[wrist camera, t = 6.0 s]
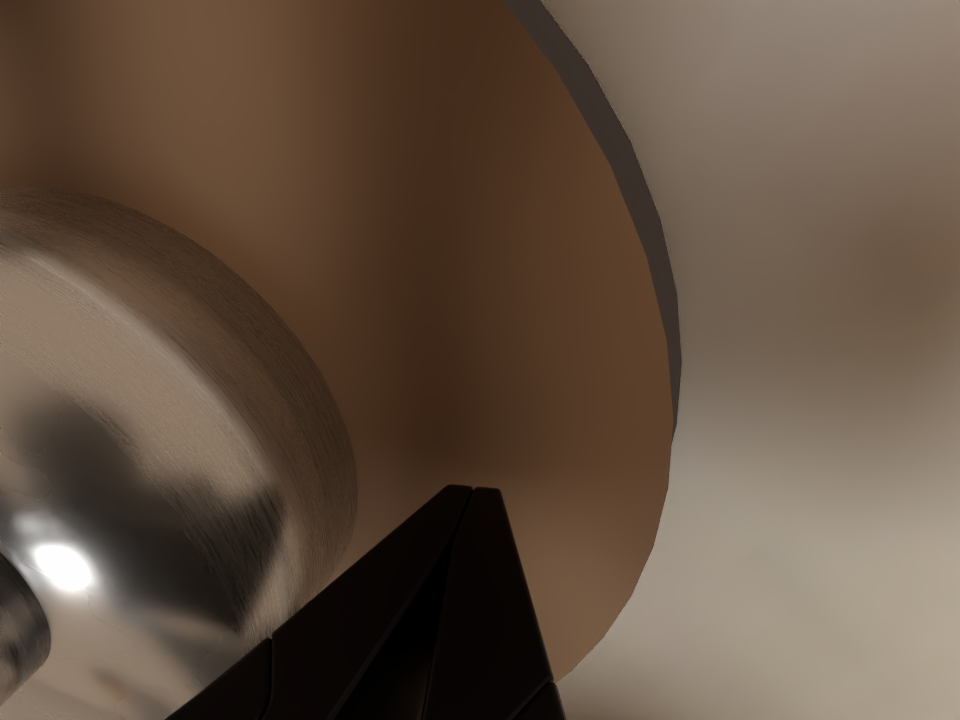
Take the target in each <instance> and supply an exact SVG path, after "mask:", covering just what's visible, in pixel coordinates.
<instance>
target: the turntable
mask: <svg viewBox="0 0 960 720" xmlns="http://www.w3.org/2000/svg"><path fill="white" fill-rule="evenodd" d="M19 187H42V188H58V189H66V190H71V191H75V192H80V193H85V194H89V195H94V196H99V197H102V198H105V199H107V200H110V201H113V202H116V203H119V204H121V205H124V206H127V207H130V208H133V209H135V210H138V211H140V212H142V213H144V214H146V215H148V216H150V217H152V218H154V219H156V220H158V221H160V222H162V223H164V224H166V225H168V226H170V227H172V228H174V229H175V230H177V231H178V232H180V233H182V234H183V235H185V236H186V237H188V238H189V239H191V240H192V241H194V242H196V243H197V244H199V245H200V246H202V247H203V248H205V249H206V250H208V251H210V252H211V253H212V254H213V255H215V256H216V257H217V258H218V259H219V260H221V261H222V262H223V263H224V264H226V265H227V266H228V267H229V268H231V269H232V270H233V271H234V272H236V273H237V274H238V275H239V276H241V277H242V278H243V279H244V280H245V281H246V282H247V283H248V284H249V285H250V286H251V287H252V288H253V289H254V290H255V291H256V292H257V293H258V294H259V295H260V296H261V297H262V298H263V299H264V300H265V301H266V302H267V303H269V304H270V305H271V306H272V307H273V309H274V310H275V311H276V312H277V313H278V315H279V316H280V317H281V318H282V319H283V321H284V322H285V323H286V324H287V325H288V327H289V328H290V329H291V330H292V332H293V333H294V334H295V335H296V336H297V338H298V339H299V340H300V342H301V343H302V345H303V346H304V348H305V349H306V351H307V352H308V354H309V355H310V357H311V358H312V360H313V361H314V363H315V364H316V366H317V367H318V369H319V370H320V372H321V374H322V376H323V378H324V380H325V382H326V383H327V385H328V387H329V389H330V391H331V393H332V395H333V397H334V399H335V401H336V403H337V405H338V408H339V411H340V413H341V416H342V419H343V421H344V424H345V427H346V429H347V432H348V435H349V439H350V443H351V447H352V451H353V456H354V460H355V464H356V475H357V486H358V500H357V514H356V521H355V525H354V529H353V533H352V537H351V541H350V543H349V545H348V547H347V550H346V552H345V554H344V556H343V558H342V560H341V562H340V564H339V566H338V568H337V569H336V571H335V573H334V575H333V576H332V578H331V580H330V582H329V583H328V585H329V584H330V583H331V582H333V581H334V580H335V579H336V578H337V577H339V576H340V575H341V574H342V573H343V572H345V571H346V570H347V569H348V568H349V567H350V566H352V565H353V564H354V563H355V562H356V561H358V560H359V559H360V558H361V557H362V556H363V555H365V554H366V553H367V552H368V551H369V550H371V549H372V548H373V547H374V546H375V545H376V544H378V543H379V542H380V541H381V540H382V539H384V538H385V537H386V536H387V535H388V534H389V533H391V532H392V531H393V530H394V529H395V528H397V527H398V526H399V525H400V524H401V523H402V522H404V521H405V520H406V519H407V518H408V517H410V516H411V515H412V514H413V513H414V512H415V511H417V510H418V509H419V508H420V507H421V506H423V505H424V504H425V503H426V502H427V501H429V500H430V499H431V498H432V497H433V496H434V495H436V494H437V493H438V492H439V491H440V490H442V489H443V488H444V487H445V486H447V485H449V484H457V485H468V486H471V487H473V489H474V488H476V487H490V488H498V489H500V491H501V493H502V496H503V500H504V503H505V507H506V510H507V514H508V517H509V521H510V524H511V528H512V531H513V535H514V538H515V542H516V546H517V549H518V553H519V556H520V560H521V563H522V567H523V570H524V574H525V577H526V581H527V584H528V588H529V591H530V595H531V598H532V602H533V605H534V609H535V612H536V616H537V619H538V623H539V626H540V630H541V633H542V637H543V640H544V644H545V648H546V651H547V655H548V658H549V662H550V665H551V669H552V672H553V676H554V683H556V682H557V681H558V680H560V679H561V678H562V677H564V676H565V675H566V674H568V673H569V672H570V671H572V670H573V668H574V667H575V666H576V665H577V664H578V663H579V662H580V661H581V660H582V659H583V658H584V657H585V656H586V655H587V654H588V653H589V652H590V651H591V650H592V649H593V648H594V647H595V646H596V645H597V643H598V642H599V641H600V640H601V639H602V638H603V637H604V636H605V634H606V633H607V631H608V630H609V628H610V627H611V625H612V624H613V622H614V621H615V619H616V618H617V616H618V615H619V613H620V612H621V610H622V609H623V607H624V606H625V604H626V603H627V602H628V600H629V599H630V597H631V595H632V593H633V591H634V589H635V586H636V584H637V582H638V580H639V577H640V575H641V573H642V571H643V568H644V566H645V564H646V562H647V559H648V557H649V555H650V553H651V550H652V548H653V546H654V542H655V538H656V534H657V530H658V526H659V522H660V518H661V514H662V510H663V506H664V502H665V498H666V494H667V490H668V482H669V469H670V456H671V443H672V430H673V409H672V397H671V385H670V373H669V361H668V349H667V340H666V336H665V331H664V327H663V323H662V319H661V315H660V311H659V306H658V302H657V298H656V294H655V290H654V285H653V281H652V277H651V273H650V269H649V265H648V260H647V256H646V254H645V251H644V249H643V246H642V244H641V241H640V239H639V236H638V234H637V231H636V229H635V226H634V224H633V221H632V218H631V216H630V213H629V211H628V208H627V206H626V203H625V201H624V198H623V196H622V193H621V191H620V188H619V186H618V183H617V181H616V178H615V176H614V173H613V171H612V168H611V166H610V164H609V162H608V160H607V158H606V157H605V155H604V153H603V151H602V150H601V148H600V146H599V144H598V143H597V141H596V139H595V137H594V136H593V134H592V132H591V130H590V129H589V127H588V125H587V123H586V121H585V120H584V118H583V116H582V114H581V113H580V111H579V109H578V107H577V106H576V104H575V102H574V100H573V99H572V97H571V95H570V93H569V92H568V90H567V88H566V86H565V85H564V83H563V81H562V79H561V78H560V76H559V74H558V72H557V70H556V69H555V68H554V67H553V65H552V64H551V63H550V61H549V60H548V59H547V57H546V56H545V55H544V54H543V52H542V51H541V50H540V48H539V47H538V46H537V44H536V43H535V42H534V40H533V39H532V38H531V37H530V35H529V34H528V33H527V31H526V30H525V29H524V27H523V26H522V25H521V23H520V22H519V21H518V20H517V18H516V17H515V16H514V14H513V13H512V12H511V10H510V9H509V8H508V6H507V5H506V4H505V3H504V1H503V0H0V189H7V188H19ZM328 585H327V586H328Z"/></svg>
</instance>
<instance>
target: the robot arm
mask: <svg viewBox="0 0 960 720" xmlns="http://www.w3.org/2000/svg"><path fill="white" fill-rule="evenodd" d="M164 720H566V717H565V713H564V710H563V706H562V703H561V699H560V696H559V692H558V689H557V685H556V684H555V683H554V676H553V672H552V669H551V665H550V662H549V658H548V655H547V651H546V648H545V644H544V640H543V637H542V633H541V630H540V626H539V623H538V619H537V616H536V612H535V609H534V605H533V602H532V598H531V595H530V591H529V588H528V584H527V581H526V577H525V574H524V570H523V567H522V563H521V560H520V556H519V553H518V549H517V546H516V542H515V538H514V535H513V531H512V528H511V524H510V521H509V517H508V514H507V510H506V507H505V503H504V500H503V496H502V493H501V491H500V489H498V488H490V487H476V488H474V489H473V487H471V486H468V485H457V484H449V485H447V486H445V487H444V488H443V489H442V490H440V491H439V492H438V493H437V494H436V495H434V496H433V497H432V498H431V499H430V500H429V501H427V502H426V503H425V504H424V505H423V506H421V507H420V508H419V509H418V510H417V511H415V512H414V513H413V514H412V515H411V516H410V517H408V518H407V519H406V520H405V521H404V522H402V523H401V524H400V525H399V526H398V527H397V528H395V529H394V530H393V531H392V532H391V533H389V534H388V535H387V536H386V537H385V538H384V539H382V540H381V541H380V542H379V543H378V544H376V545H375V546H374V547H373V548H372V549H371V550H369V551H368V552H367V553H366V554H365V555H363V556H362V557H361V558H360V559H359V560H358V561H356V562H355V563H354V564H353V565H352V566H350V567H349V568H348V569H347V570H346V571H345V572H343V573H342V574H341V575H340V576H339V577H337V578H336V579H335V580H334V581H333V582H331V583H330V584H329V585H328V586H327V587H326V588H324V589H323V590H322V591H321V592H320V593H318V594H317V595H316V596H315V597H314V598H313V599H311V600H310V601H309V602H308V603H307V604H305V605H304V606H303V607H302V608H301V609H300V610H298V611H297V612H296V613H295V614H294V615H292V616H291V617H290V618H289V619H288V620H287V621H285V622H284V623H283V624H282V625H281V626H279V627H278V628H277V629H276V630H275V631H274V632H273V633H272V635H271V639H270V638H268V637H267V638H265V639H264V640H263V641H261V642H260V643H259V644H258V645H257V646H255V647H254V648H253V649H252V650H251V651H250V652H248V653H247V654H246V655H245V656H244V657H242V658H241V659H240V660H239V661H238V662H236V663H235V664H234V665H233V666H231V667H230V668H229V669H228V670H226V671H225V672H224V673H223V674H222V675H220V676H219V677H218V678H217V679H215V680H214V681H213V682H212V683H210V684H209V685H208V686H207V687H206V688H204V689H203V690H202V691H201V692H199V693H198V694H197V695H196V696H194V697H193V698H192V699H190V700H189V701H188V702H186V703H185V704H184V705H182V706H181V707H180V708H178V709H177V710H176V711H174V712H173V713H172V714H170V715H169V716H168V717H166V718H165V719H164Z"/></svg>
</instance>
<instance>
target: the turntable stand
mask: <svg viewBox="0 0 960 720" xmlns="http://www.w3.org/2000/svg"><path fill="white" fill-rule="evenodd" d="M503 1H504V3H505V4H506V5H507V6H508V8H509V9H510V10H511V12H512V13H513V14H514V16H515V17H516V18H517V20H518V21H519V22H520V23H521V25H522V26H523V27H524V29H525V30H526V31H527V33H528V34H529V35H530V37H531V38H532V39H533V40H534V42H535V43H536V44H537V46H538V47H539V48H540V50H541V51H542V52H543V54H544V55H545V56H546V57H547V59H548V60H549V61H550V63H551V64H552V65H553V67H554V68H555V69H556V70H557V72H558V74H559V76H560V78H561V79H562V81H563V83H564V85H565V86H566V88H567V90H568V92H569V93H570V95H571V97H572V99H573V100H574V102H575V104H576V106H577V107H578V109H579V111H580V113H581V114H582V116H583V118H584V120H585V121H586V123H587V125H588V127H589V129H590V130H591V132H592V134H593V136H594V137H595V139H596V141H597V143H598V144H599V146H600V148H601V150H602V151H603V153H604V155H605V157H606V158H607V160H608V162H609V164H610V166H611V168H612V171H613V173H614V176H615V178H616V181H617V183H618V186H619V188H620V191H621V193H622V196H623V198H624V201H625V203H626V206H627V208H628V211H629V213H630V216H631V218H632V221H633V224H634V226H635V229H636V231H637V234H638V236H639V239H640V241H641V244H642V246H643V249H644V251H645V254H646V256H647V260H648V265H649V269H650V273H651V277H652V281H653V285H654V290H655V294H656V298H657V302H658V306H659V311H660V315H661V319H662V323H663V327H664V331H665V336H666V340H667V349H668V361H669V373H670V385H671V397H672V409H673V430H672V441H673V437H674V432H675V428H676V424H677V413H678V400H679V388H680V376H681V363H682V361H681V347H680V333H679V319H678V306H677V293H676V289H675V284H674V280H673V275H672V271H671V266H670V262H669V257H668V253H667V248H666V244H665V239H664V235H663V230H662V226H661V221H660V218H659V216H658V213H657V210H656V208H655V205H654V202H653V200H652V197H651V195H650V192H649V189H648V187H647V184H646V181H645V179H644V176H643V173H642V171H641V168H640V166H639V163H638V160H637V158H636V155H635V152H634V150H633V147H632V144H631V142H630V140H629V139H628V137H627V135H626V133H625V131H624V129H623V128H622V126H621V124H620V122H619V120H618V119H617V117H616V115H615V113H614V111H613V109H612V108H611V106H610V104H609V102H608V100H607V99H606V97H605V95H604V93H603V91H602V89H601V88H600V86H599V84H598V82H597V80H596V79H595V77H594V75H593V73H592V71H591V69H590V68H589V66H588V64H587V63H586V62H585V60H584V59H583V58H582V56H581V55H580V54H579V52H578V51H577V49H576V48H575V47H574V45H573V44H572V43H571V41H570V40H569V39H568V37H567V36H566V35H565V33H564V32H563V31H562V29H561V28H560V27H559V25H558V24H557V23H556V21H555V20H554V19H553V17H552V16H551V15H550V13H549V12H548V11H547V9H546V8H545V7H544V5H543V4H542V3H541V1H540V0H503ZM671 445H672V443H671Z"/></svg>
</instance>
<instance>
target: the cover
mask: <svg viewBox="0 0 960 720" xmlns="http://www.w3.org/2000/svg"><path fill="white" fill-rule="evenodd" d="M357 500H358V486H357V475H356V464H355V460H354V456H353V451H352V447H351V443H350V439H349V435H348V432H347V429H346V427H345V424H344V421H343V419H342V416H341V413H340V411H339V408H338V405H337V403H336V401H335V399H334V397H333V395H332V393H331V391H330V389H329V387H328V385H327V383H326V382H325V380H324V378H323V376H322V374H321V372H320V370H319V369H318V367H317V366H316V364H315V363H314V361H313V360H312V358H311V357H310V355H309V354H308V352H307V351H306V349H305V348H304V346H303V345H302V343H301V342H300V340H299V339H298V338H297V336H296V335H295V334H294V333H293V332H292V330H291V329H290V328H289V327H288V325H287V324H286V323H285V322H284V321H283V319H282V318H281V317H280V316H279V315H278V313H277V312H276V311H275V310H274V309H273V307H272V306H271V305H270V304H269V303H267V302H266V301H265V300H264V299H263V298H262V297H261V296H260V295H259V294H258V293H257V292H256V291H255V290H254V289H253V288H252V287H251V286H250V285H249V284H248V283H247V282H246V281H245V280H244V279H243V278H242V277H241V276H239V275H238V274H237V273H236V272H234V271H233V270H232V269H231V268H229V267H228V266H227V265H226V264H224V263H223V262H222V261H221V260H219V259H218V258H217V257H216V256H215V255H213V254H212V253H211V252H210V251H208V250H206V249H205V248H203V247H202V246H200V245H199V244H197V243H196V242H194V241H192V240H191V239H189V238H188V237H186V236H185V235H183V234H182V233H180V232H178V231H177V230H175V229H174V228H172V227H170V226H168V225H166V224H164V223H162V222H160V221H158V220H156V219H154V218H152V217H150V216H148V215H146V214H144V213H142V212H140V211H138V210H135V209H133V208H130V207H127V206H124V205H121V204H119V203H116V202H113V201H110V200H107V199H105V198H102V197H99V196H94V195H89V194H85V193H80V192H75V191H71V190H66V189H58V188H42V187H19V188H7V189H0V720H164V719H165V718H166V717H168V716H169V715H170V714H172V713H173V712H174V711H176V710H177V709H178V708H180V707H181V706H182V705H184V704H185V703H186V702H188V701H189V700H190V699H192V698H193V697H194V696H196V695H197V694H198V693H199V692H201V691H202V690H203V689H204V688H206V687H207V686H208V685H209V684H210V683H212V682H213V681H214V680H215V679H217V678H218V677H219V676H220V675H222V674H223V673H224V672H225V671H226V670H228V669H229V668H230V667H231V666H233V665H234V664H235V663H236V662H238V661H239V660H240V659H241V658H242V657H244V656H245V655H246V654H247V653H248V652H250V651H251V650H252V649H253V648H254V647H255V646H257V645H258V644H259V643H260V642H261V641H263V640H264V639H265V638H267V637H268V638H270V639H271V635H272V633H273V632H274V631H275V630H276V629H277V628H278V627H279V626H281V625H282V624H283V623H284V622H285V621H287V620H288V619H289V618H290V617H291V616H292V615H294V614H295V613H296V612H297V611H298V610H300V609H301V608H302V607H303V606H304V605H305V604H307V603H308V602H309V601H310V600H311V599H313V598H314V597H315V596H316V595H317V594H318V593H320V592H321V591H322V590H323V589H324V588H326V587H327V585H328V583H329V582H330V580H331V578H332V576H333V575H334V573H335V571H336V569H337V568H338V566H339V564H340V562H341V560H342V558H343V556H344V554H345V552H346V550H347V547H348V545H349V543H350V541H351V537H352V533H353V529H354V525H355V521H356V514H357Z"/></svg>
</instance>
